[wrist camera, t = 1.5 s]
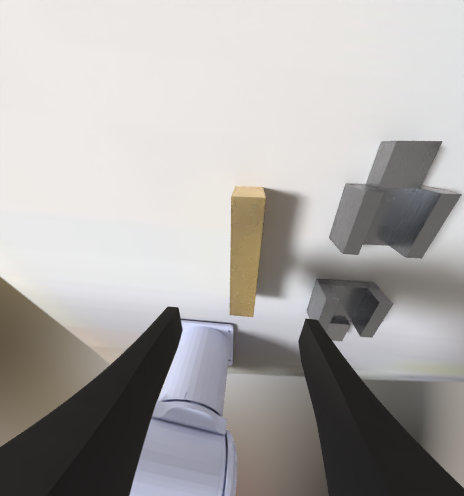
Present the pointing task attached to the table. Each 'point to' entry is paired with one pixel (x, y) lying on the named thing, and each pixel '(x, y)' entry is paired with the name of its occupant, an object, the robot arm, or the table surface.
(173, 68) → the table surface
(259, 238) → the tan wooden beam
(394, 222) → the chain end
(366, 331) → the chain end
